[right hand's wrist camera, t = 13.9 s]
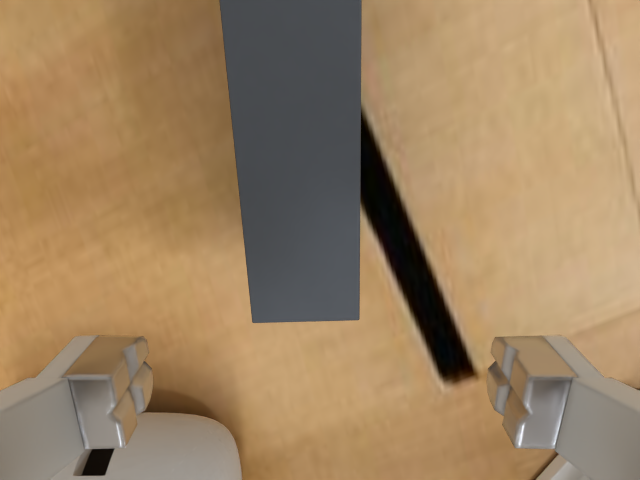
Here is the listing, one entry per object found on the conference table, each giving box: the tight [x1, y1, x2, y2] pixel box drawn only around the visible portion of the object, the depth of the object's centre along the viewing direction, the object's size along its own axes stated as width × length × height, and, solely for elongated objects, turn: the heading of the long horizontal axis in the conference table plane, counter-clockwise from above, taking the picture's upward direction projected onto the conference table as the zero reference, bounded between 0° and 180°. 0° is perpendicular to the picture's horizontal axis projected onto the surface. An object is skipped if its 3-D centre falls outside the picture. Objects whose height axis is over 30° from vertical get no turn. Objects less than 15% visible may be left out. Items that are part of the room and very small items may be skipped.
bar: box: [220, 0, 361, 323], centre depth 19 cm, size 24×5×9 cm, turn 2°
